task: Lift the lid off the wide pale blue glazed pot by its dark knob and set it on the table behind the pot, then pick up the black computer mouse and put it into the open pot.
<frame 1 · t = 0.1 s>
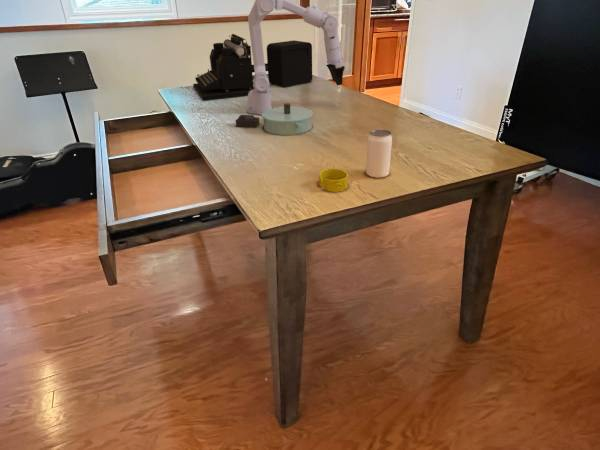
hand: (337, 82, 172), 11 cm above the table, tool pointing down, fingers open, 7 cm apart
can: (377, 174, 117), on the table
lid: (287, 114, 154), point 5 cm above the table, touching pot
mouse: (247, 125, 159), on the table
pot: (287, 127, 156), on the table
bracelet: (333, 186, 111), on the table
typewriter: (224, 91, 211), on the table
air purifier: (289, 83, 224), on the table
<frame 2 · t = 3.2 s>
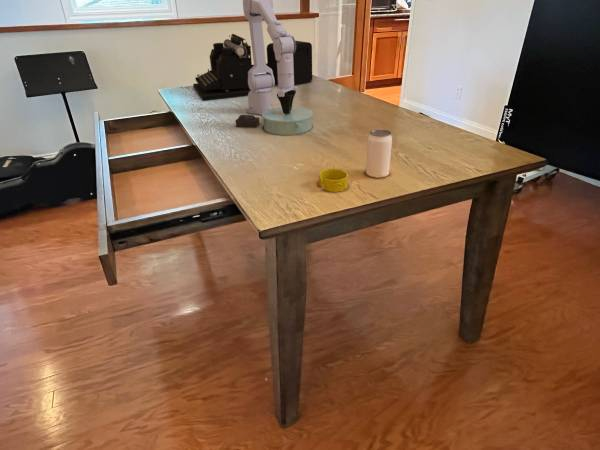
hand: (287, 111, 153), 6 cm above the table, tool pointing down, fingers closed on lid, 2 cm apart
lid: (287, 114, 154), point 5 cm above the table, touching gripper, pot
everything else where it was.
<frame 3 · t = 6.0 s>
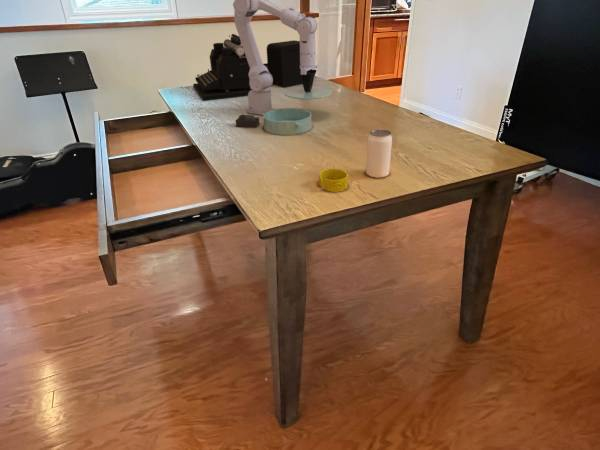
hand: (308, 90, 162), 10 cm above the table, tool pointing down, fingers closed on lid, 2 cm apart
lid: (308, 93, 163), point 9 cm above the table, touching gripper
everything else where it was.
when the fingers open (2 cm above the table, at t = 8.9 s): lid stays where it is, point 1 cm above the table.
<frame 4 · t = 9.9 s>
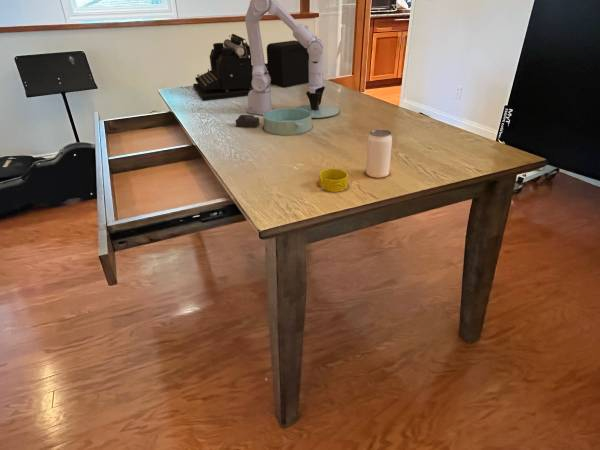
hand: (315, 107, 171), 2 cm above the table, tool pointing down, fingers open, 7 cm apart
lid: (316, 111, 172), point 1 cm above the table
everything else where it was.
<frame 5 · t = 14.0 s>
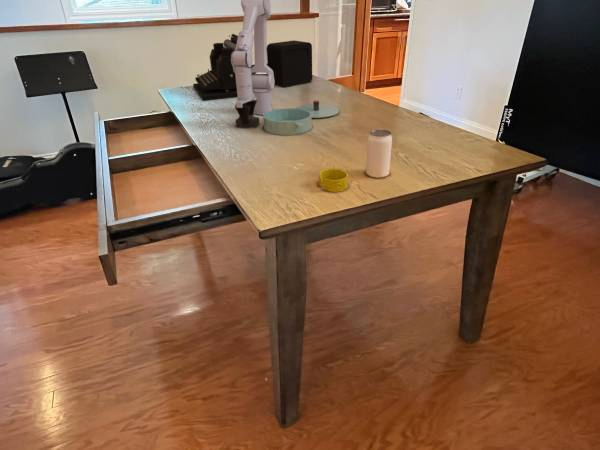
hand: (247, 121, 159), 1 cm above the table, tool pointing down, fingers closed on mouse, 5 cm apart
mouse: (248, 125, 159), on the table, touching gripper
everything else where it was.
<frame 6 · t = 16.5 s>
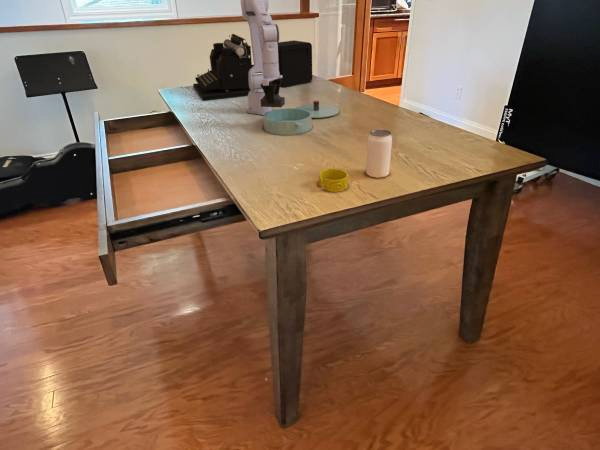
hand: (272, 101, 152), 9 cm above the table, tool pointing down, fingers closed on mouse, 5 cm apart
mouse: (272, 105, 153), point 8 cm above the table, touching gripper
everything else where it was.
when the fingers open (2 cm above the table, at t = 19.3 s): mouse stays where it is, resting on pot.
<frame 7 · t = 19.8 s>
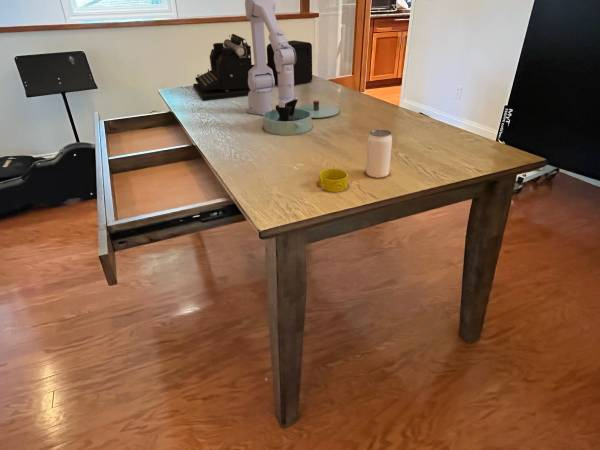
hand: (287, 121, 155), 2 cm above the table, tool pointing down, fingers open, 7 cm apart
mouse: (287, 126, 156), resting on pot
everything else where it was.
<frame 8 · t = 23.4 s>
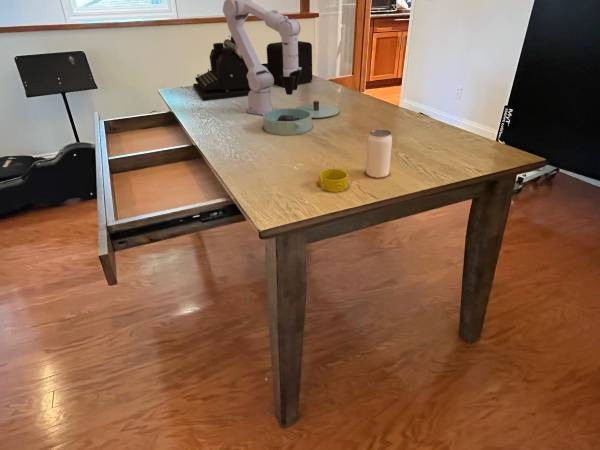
hand: (291, 92, 162), 10 cm above the table, tool pointing down, fingers open, 7 cm apart
nothing on the table moved.
at the end: lid inside the target area (0.0 cm from its centre), point 0.6 cm above the table; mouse inside the target area in the pot (0.0 cm from its centre), point 0.4 cm above the pot's base; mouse tilted 0° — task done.
